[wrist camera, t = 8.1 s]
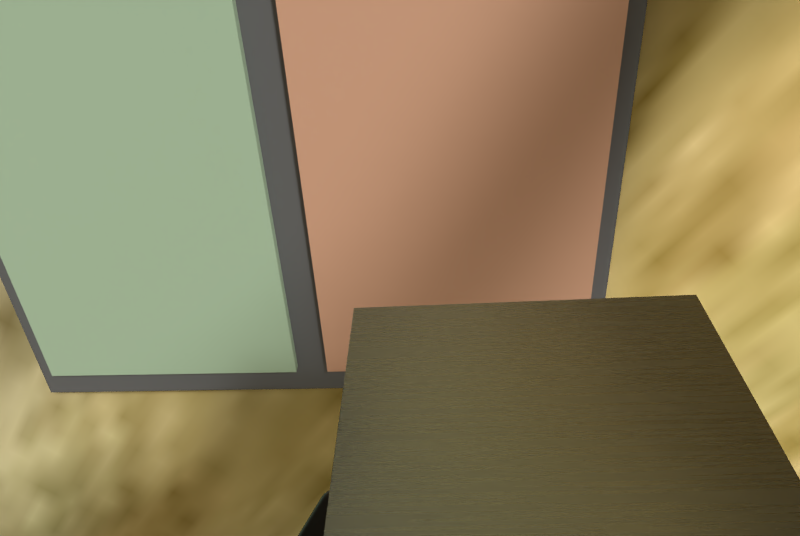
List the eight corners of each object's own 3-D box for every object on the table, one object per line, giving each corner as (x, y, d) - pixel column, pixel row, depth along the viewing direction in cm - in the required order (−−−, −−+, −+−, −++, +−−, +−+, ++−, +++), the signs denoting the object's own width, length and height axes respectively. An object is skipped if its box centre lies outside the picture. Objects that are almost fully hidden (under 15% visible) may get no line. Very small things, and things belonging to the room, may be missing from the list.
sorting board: (666, -215, 15) (682, -216, 14) (588, 367, 23) (594, 390, 23) (-169, -167, 15) (-206, -165, 15) (61, 375, 24) (47, 398, 23)
